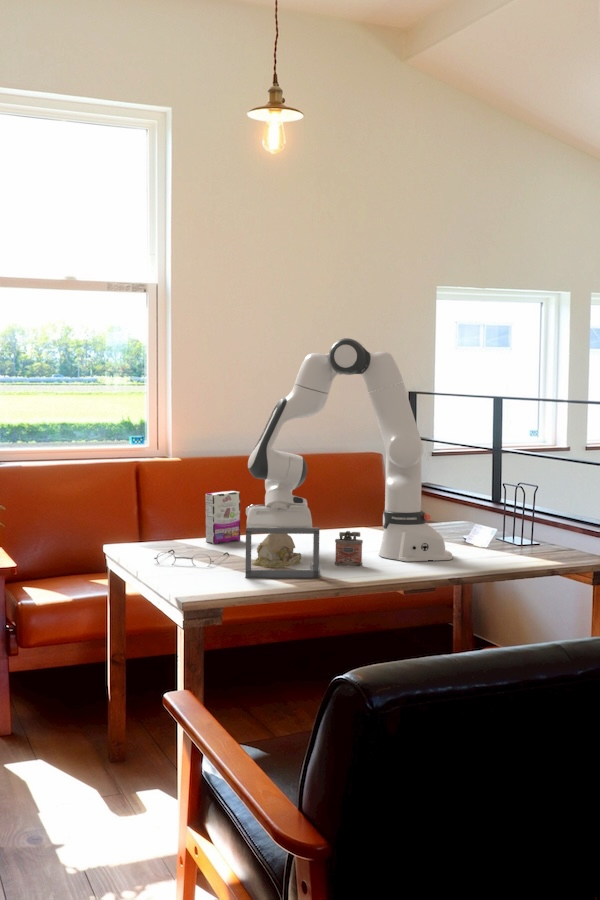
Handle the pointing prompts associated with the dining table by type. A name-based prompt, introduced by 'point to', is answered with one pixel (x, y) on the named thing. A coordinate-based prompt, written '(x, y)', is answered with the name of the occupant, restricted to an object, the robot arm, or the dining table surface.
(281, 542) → the ceramic model
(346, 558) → the lighter
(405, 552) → the robot arm
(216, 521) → the candy bar box
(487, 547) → the dining table surface
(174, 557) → the eyeglasses
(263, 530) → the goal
